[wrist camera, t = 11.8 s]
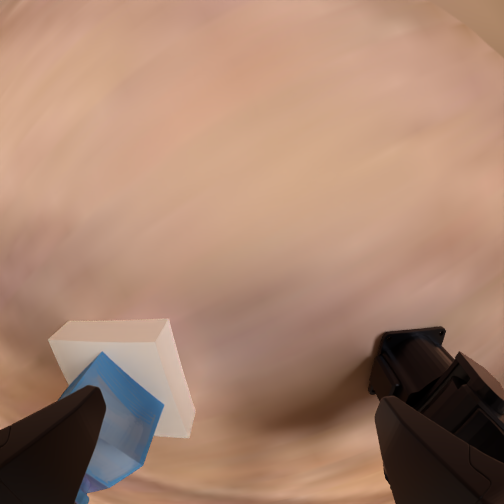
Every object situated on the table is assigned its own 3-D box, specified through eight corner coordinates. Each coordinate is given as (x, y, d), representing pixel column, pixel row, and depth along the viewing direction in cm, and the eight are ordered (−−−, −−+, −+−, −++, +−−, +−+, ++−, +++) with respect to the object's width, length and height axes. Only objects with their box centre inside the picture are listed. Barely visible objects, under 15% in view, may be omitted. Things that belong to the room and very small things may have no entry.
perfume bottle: (70, 383, 20) (2, 480, 8) (102, 351, 18) (16, 471, 7) (124, 428, 21) (79, 534, 9) (164, 404, 20) (119, 537, 8)
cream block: (170, 315, 22) (155, 342, 18) (196, 407, 24) (189, 438, 21) (71, 318, 22) (47, 339, 18) (106, 401, 25) (92, 427, 21)
